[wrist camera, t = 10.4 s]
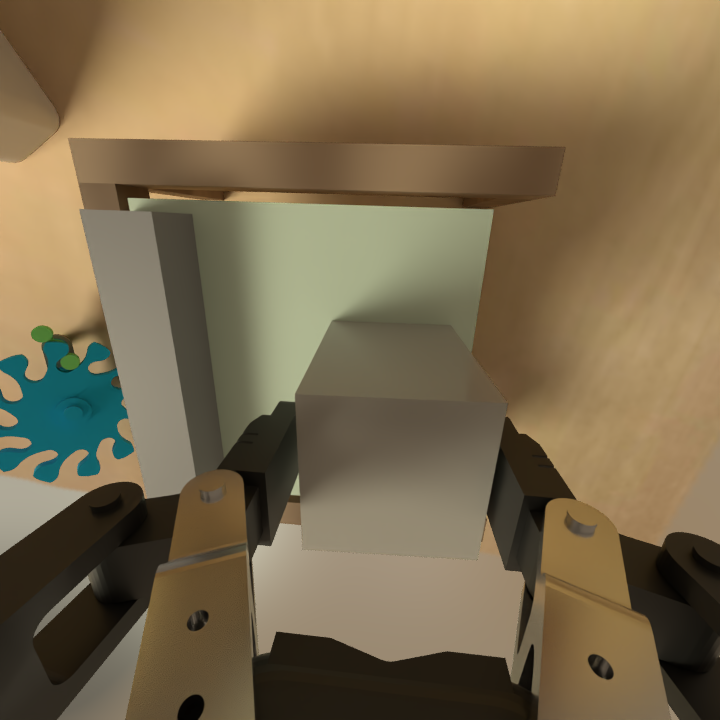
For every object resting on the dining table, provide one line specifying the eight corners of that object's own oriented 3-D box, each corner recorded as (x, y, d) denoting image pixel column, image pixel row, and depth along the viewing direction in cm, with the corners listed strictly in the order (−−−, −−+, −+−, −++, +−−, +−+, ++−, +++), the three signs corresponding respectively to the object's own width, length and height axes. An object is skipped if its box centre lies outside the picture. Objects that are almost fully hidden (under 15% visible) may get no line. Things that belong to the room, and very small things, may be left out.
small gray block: (331, 320, 15) (294, 394, 8) (450, 324, 15) (507, 403, 8) (332, 422, 17) (302, 550, 10) (438, 427, 16) (477, 560, 10)
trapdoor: (191, 475, 20) (151, 526, 16) (143, 199, 15) (72, 192, 11) (444, 491, 19) (457, 549, 16) (486, 210, 14) (519, 205, 11)
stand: (228, 422, 28) (154, 511, 20) (198, 173, 22) (67, 138, 13) (452, 439, 27) (482, 542, 18) (491, 180, 21) (565, 147, 12)
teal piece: (168, 454, 28) (-8, 511, 22) (154, 433, 33) (6, 476, 27) (139, 316, 26) (-67, 338, 20) (128, 314, 30) (-42, 331, 24)
